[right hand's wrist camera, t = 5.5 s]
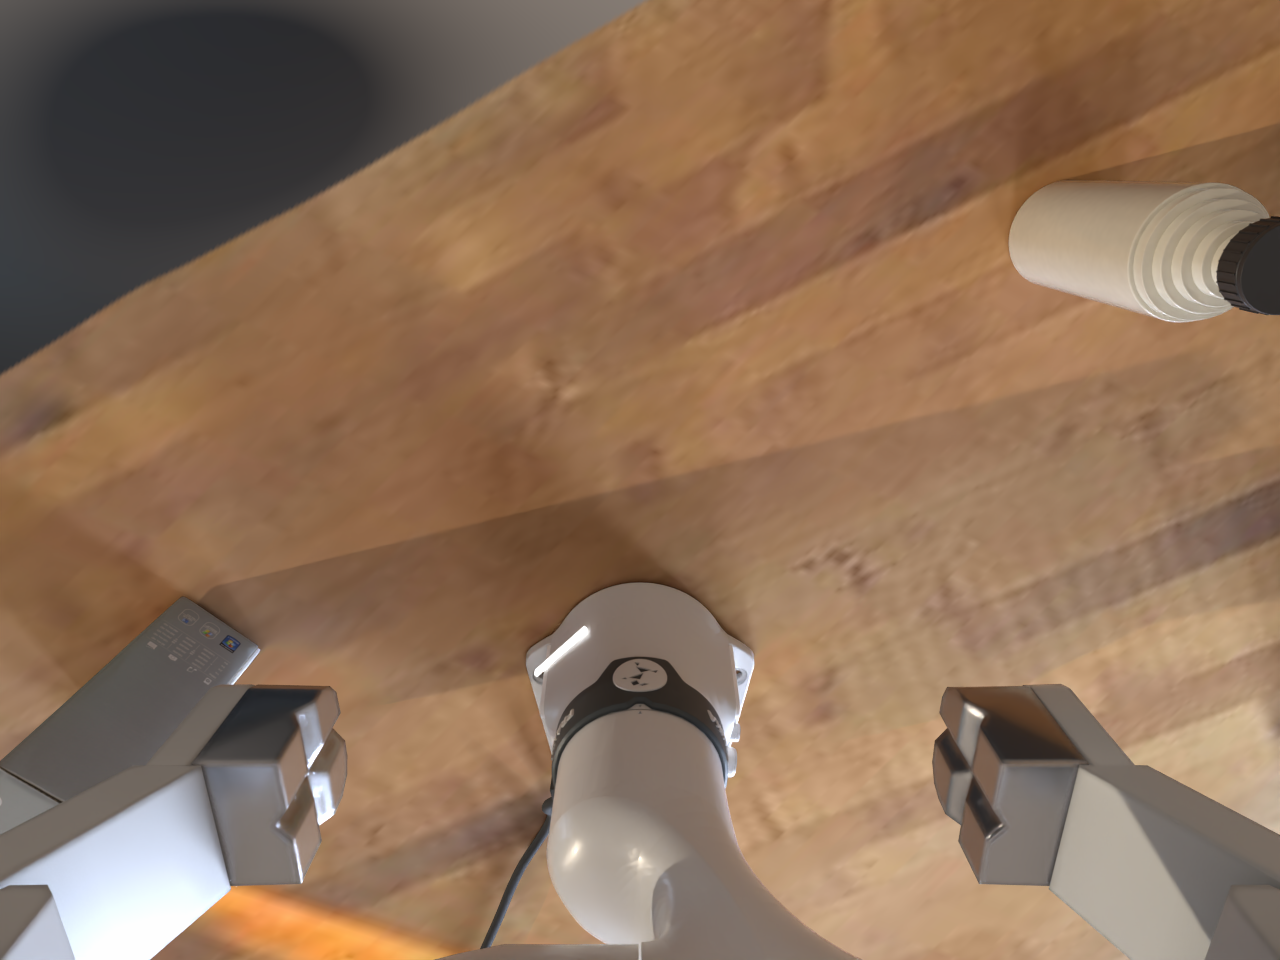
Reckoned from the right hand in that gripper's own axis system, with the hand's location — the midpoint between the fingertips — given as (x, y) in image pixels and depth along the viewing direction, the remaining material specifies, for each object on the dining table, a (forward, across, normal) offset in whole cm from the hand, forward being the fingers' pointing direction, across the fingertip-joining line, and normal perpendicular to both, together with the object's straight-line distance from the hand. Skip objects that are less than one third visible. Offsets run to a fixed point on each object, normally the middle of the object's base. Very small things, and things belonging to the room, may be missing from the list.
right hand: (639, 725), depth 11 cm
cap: (+28, +29, +3) cm, 40 cm away
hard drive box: (+48, -39, -33) cm, 70 cm away
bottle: (+48, +29, +3) cm, 56 cm away
